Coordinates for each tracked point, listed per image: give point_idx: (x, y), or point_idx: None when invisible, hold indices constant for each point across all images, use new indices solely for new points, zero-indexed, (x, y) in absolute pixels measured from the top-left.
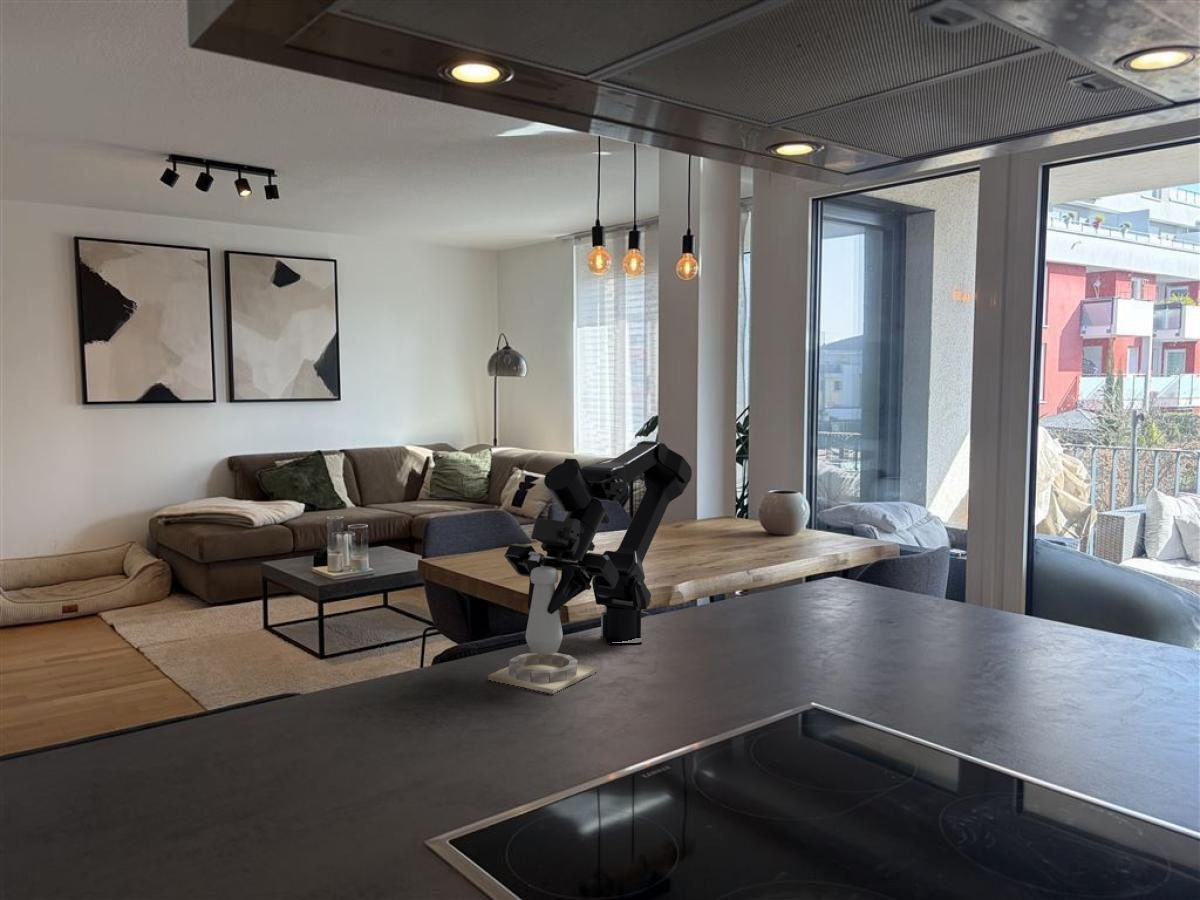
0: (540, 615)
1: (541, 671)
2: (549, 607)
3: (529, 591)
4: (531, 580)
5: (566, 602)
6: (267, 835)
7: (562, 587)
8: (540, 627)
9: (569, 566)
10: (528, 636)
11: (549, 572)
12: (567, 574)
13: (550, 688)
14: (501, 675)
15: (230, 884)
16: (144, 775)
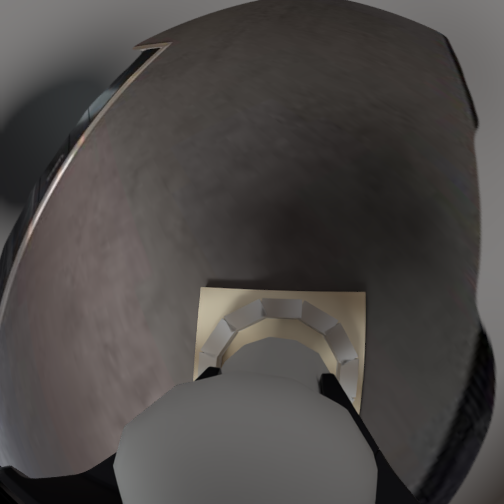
0: (252, 357)
1: (243, 316)
2: (208, 374)
3: (361, 428)
4: (324, 396)
5: None
6: (253, 15)
7: None
8: (253, 349)
9: (26, 494)
10: (300, 343)
11: (124, 433)
12: (77, 488)
13: (208, 290)
14: (341, 304)
15: (234, 7)
16: (378, 24)
